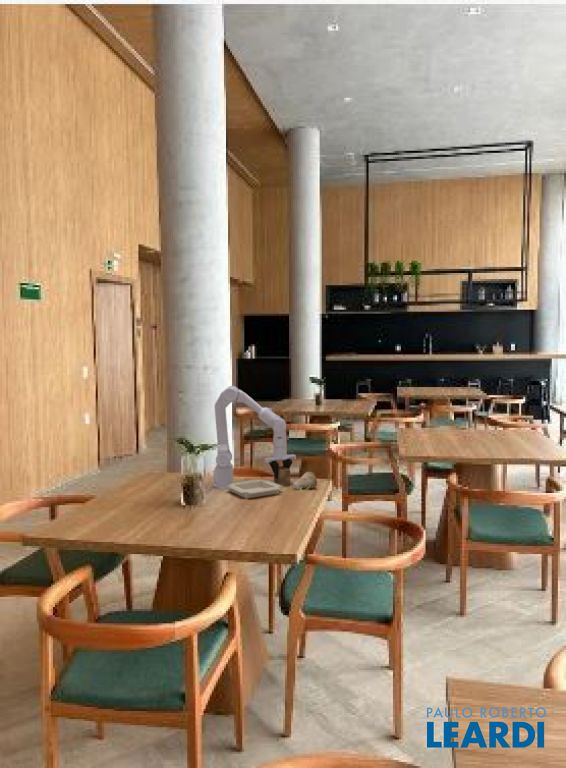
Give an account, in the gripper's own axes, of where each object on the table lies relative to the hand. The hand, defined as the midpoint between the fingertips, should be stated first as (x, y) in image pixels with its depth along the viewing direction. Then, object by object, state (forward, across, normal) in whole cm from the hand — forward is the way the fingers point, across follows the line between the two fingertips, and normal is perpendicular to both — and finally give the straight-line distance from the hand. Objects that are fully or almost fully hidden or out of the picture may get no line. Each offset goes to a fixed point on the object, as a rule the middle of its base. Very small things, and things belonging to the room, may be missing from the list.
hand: (281, 477), depth 264 cm
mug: (+4, +5, -12) cm, 14 cm away
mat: (+3, 0, 0) cm, 3 cm away
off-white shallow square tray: (+3, -16, -6) cm, 17 cm away
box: (+3, 0, -1) cm, 3 cm away
